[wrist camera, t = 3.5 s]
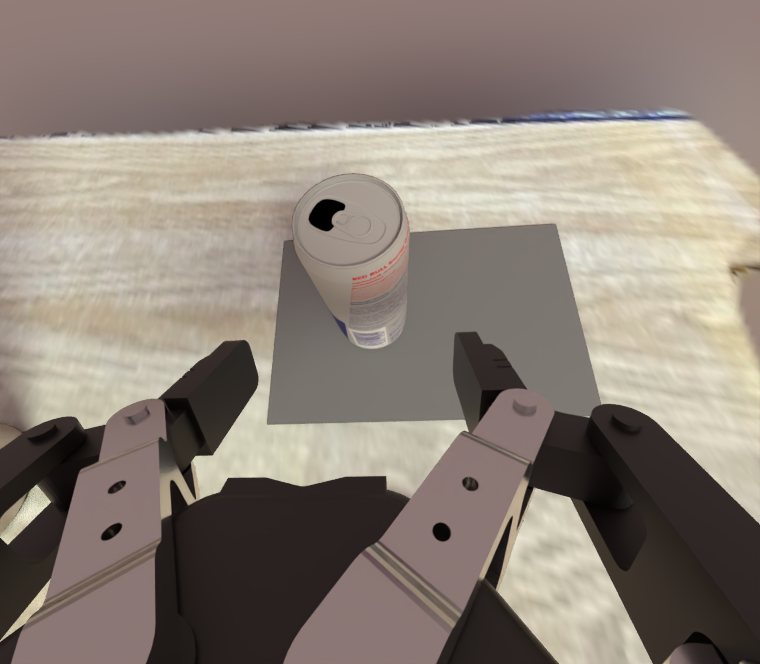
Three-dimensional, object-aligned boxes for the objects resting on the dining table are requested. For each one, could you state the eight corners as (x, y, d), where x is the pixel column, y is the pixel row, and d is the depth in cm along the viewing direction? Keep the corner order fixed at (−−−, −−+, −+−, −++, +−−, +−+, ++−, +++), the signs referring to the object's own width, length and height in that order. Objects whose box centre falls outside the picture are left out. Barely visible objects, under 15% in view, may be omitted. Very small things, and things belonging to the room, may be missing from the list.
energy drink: (359, 279, 25) (325, 156, 14) (416, 303, 24) (430, 191, 13) (328, 333, 24) (263, 245, 13) (388, 361, 23) (374, 292, 12)
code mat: (268, 424, 22) (266, 424, 22) (285, 242, 27) (284, 240, 27) (602, 415, 21) (604, 415, 21) (554, 225, 26) (556, 223, 26)
